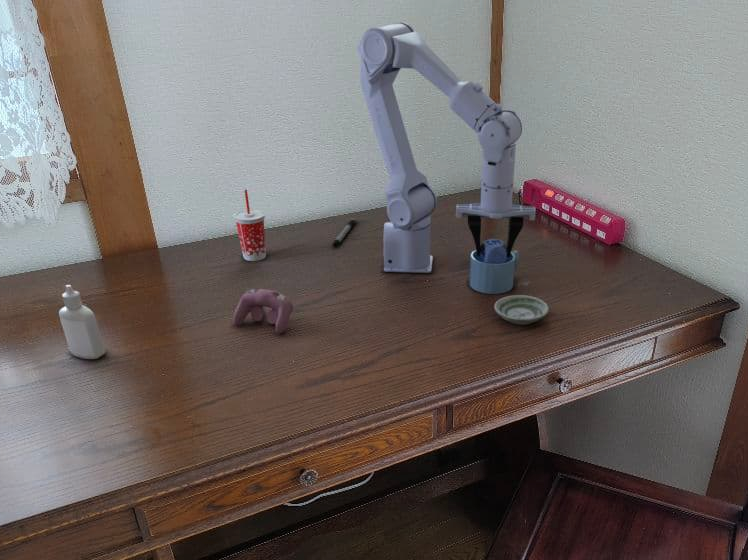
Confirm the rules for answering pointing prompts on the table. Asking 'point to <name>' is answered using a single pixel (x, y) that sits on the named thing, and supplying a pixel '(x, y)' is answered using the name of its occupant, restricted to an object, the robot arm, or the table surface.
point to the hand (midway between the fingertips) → (493, 254)
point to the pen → (344, 232)
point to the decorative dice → (493, 251)
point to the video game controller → (255, 303)
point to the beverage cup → (251, 232)
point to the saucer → (521, 309)
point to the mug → (492, 274)
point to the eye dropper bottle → (80, 327)
